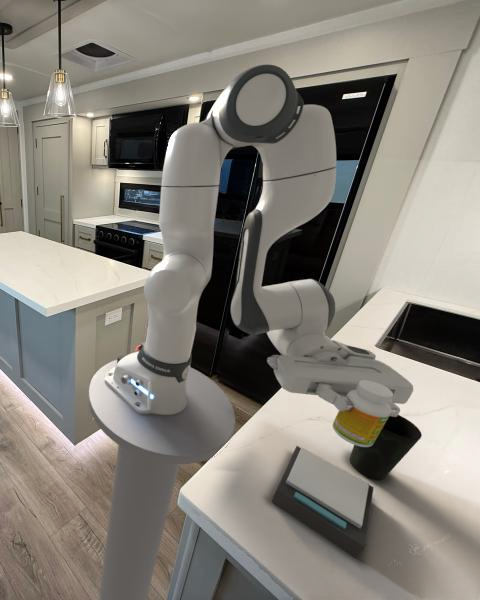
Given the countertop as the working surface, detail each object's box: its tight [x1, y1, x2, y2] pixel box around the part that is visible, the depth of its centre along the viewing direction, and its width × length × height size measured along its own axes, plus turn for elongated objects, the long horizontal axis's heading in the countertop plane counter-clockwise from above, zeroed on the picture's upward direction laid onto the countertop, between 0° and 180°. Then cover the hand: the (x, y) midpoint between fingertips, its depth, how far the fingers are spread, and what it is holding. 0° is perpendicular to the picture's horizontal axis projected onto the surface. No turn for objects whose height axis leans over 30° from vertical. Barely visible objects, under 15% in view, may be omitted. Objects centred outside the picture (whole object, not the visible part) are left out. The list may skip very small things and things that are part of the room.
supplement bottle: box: [332, 380, 393, 447], centre depth 49 cm, size 5×5×10 cm
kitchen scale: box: [270, 445, 374, 559], centre depth 55 cm, size 12×14×4 cm
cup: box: [348, 414, 423, 481], centre depth 60 cm, size 8×8×12 cm
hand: (370, 410), depth 48 cm, fingers closed on supplement bottle, 5 cm apart
